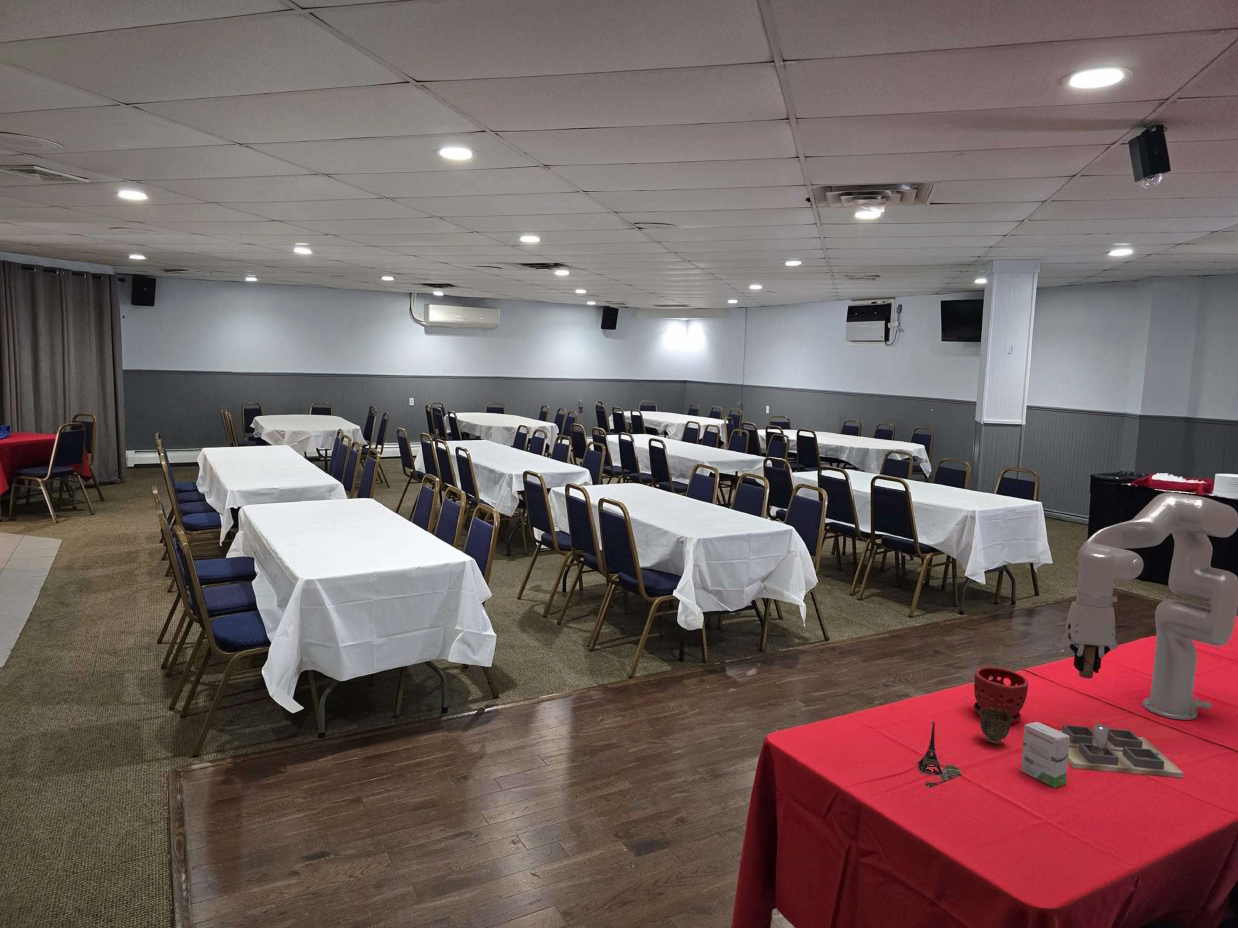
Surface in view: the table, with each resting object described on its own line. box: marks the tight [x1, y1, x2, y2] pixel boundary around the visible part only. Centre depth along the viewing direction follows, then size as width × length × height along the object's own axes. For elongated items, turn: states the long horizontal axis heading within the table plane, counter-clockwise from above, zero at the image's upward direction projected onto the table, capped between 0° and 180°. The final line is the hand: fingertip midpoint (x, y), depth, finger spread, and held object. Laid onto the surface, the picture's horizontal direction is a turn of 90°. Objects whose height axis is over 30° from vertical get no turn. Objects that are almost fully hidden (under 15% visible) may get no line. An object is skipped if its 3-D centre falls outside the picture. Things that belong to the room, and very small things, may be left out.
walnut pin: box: [1078, 645, 1096, 679], centre depth 197 cm, size 3×3×8 cm
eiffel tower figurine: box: [917, 720, 963, 788], centre depth 184 cm, size 15×10×13 cm
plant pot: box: [973, 666, 1029, 724], centre depth 213 cm, size 13×13×12 cm
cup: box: [979, 707, 1012, 746], centre depth 198 cm, size 8×7×8 cm
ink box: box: [1020, 721, 1070, 789], centre depth 181 cm, size 9×5×12 cm, turn 26°
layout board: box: [1056, 723, 1184, 779], centre depth 193 cm, size 24×18×9 cm
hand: (1086, 669), depth 197 cm, fingers closed on walnut pin, 3 cm apart
